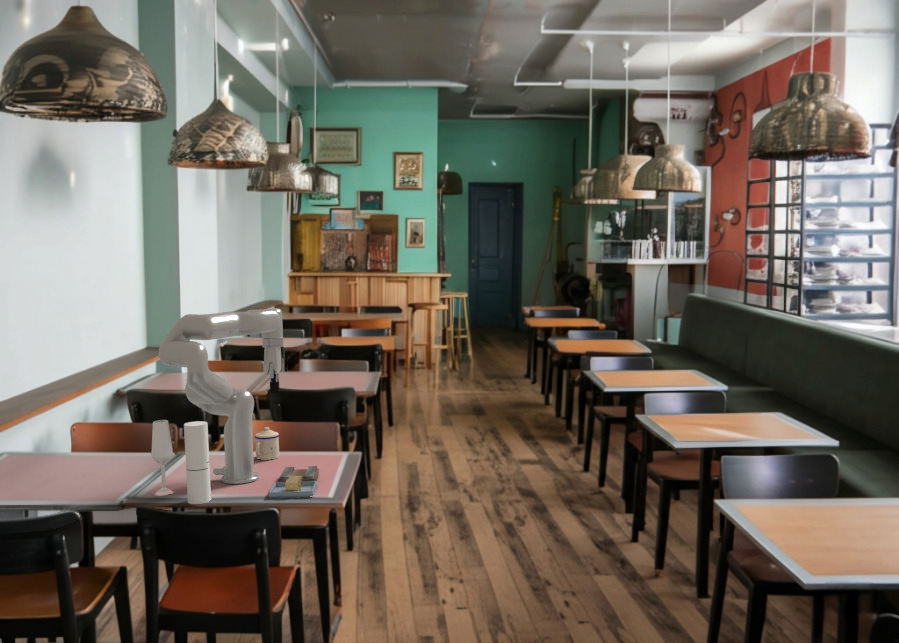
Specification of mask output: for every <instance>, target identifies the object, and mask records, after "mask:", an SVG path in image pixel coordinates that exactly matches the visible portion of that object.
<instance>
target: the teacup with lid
mask: <svg viewBox="0 0 899 643" xmlns="http://www.w3.org/2000/svg"><path fill="white" fill-rule="evenodd" d="M279 436H280V434H279V432H277V431H274V430H272V429H270V427H269V426H267V427H264V428H263V430H261V431H259V432H257V433H256V434H254V438H255V457H256V459H257V460H258V459H261V460H260V461H272V460H271V459H273V460H276V459H278V458H280V443H279V439H280V438H279Z"/></svg>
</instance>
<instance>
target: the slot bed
mask: <svg viewBox="0 0 899 643" xmlns="http://www.w3.org/2000/svg"><path fill="white" fill-rule="evenodd" d="M289 476H302V481H316V480H317V481H318V479H319V477H320V468H318V465H309V466H307V468H304V469H297V468H296V469H295V466H285V467H284V469H283V471H282V472H281V474H280V476H279V477H278V480H277V482H286V480H288V479H289ZM318 476H319V477H318ZM317 478H318V479H317Z"/></svg>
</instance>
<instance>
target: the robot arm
mask: <svg viewBox="0 0 899 643" xmlns="http://www.w3.org/2000/svg"><path fill="white" fill-rule="evenodd" d="M283 327H284V326H283V311H282V309H281V308H277V307H275V308H274V307H273V308H269V307H268V308H263V309H249V310H246V311H225V312H217V313H207V314H206V313H205V314H203V313H202V314H199V313H198V314H195V313H194V314H193V313H191V314H190V313H188V314H185V315H183V316H181V317H180V318H179V319H178V320H177V322H175V324H174V326H173V327H172V328H171V329H170V331H169V332H168V334H167V335H166V337H165V338H164V340H163V341H162V342H161V344H160V346H159V347H158V359H159V361H160V362H161V363H162V365H164V366H168V367H178V368H186V370H187V371H186V384H185V387H184V392H185V396H186V397H187V400H188V401H189V402H190V403H192V405H195V406H196V407H198V408H199V409H201V410H203V411H205V412H207V413H208V414H212V415H215V416H226V417H228V418H227V420H226V422H225V424H224V428H223V440H224V441H223V442H224V444H223V445H224V458H225V459H224V462H225V463H224V464H225V466H223V467H221V468H220V467H214V468H213V470H212V471H213V474H214V475H215V476H221V475H222V476H221V482H222V483H224V484H230V485H231V484H232V485H238V484H239V485H240V484H246V483H252V482H254V481H255V482H256V481H257V480H258V479H259V477H260V474H259V473H257V472H255V465H254V464H255V461H254V441H253V416H254V414H253V413H254V408H255V400H254V399H255V398H254V397H253V395H252V393H251V392H250V391H249V390H245V389H243V388H232V385H231V384H230V383H229V382H228V381H227V380H225V379H224V378H223V377H222V376H220V375H217V374H216V373H214V372H213V371H211V370H210V368H209V354H208V351H207V349H206V347H205V346H204V345H203V344H202V343H200V342H198V341H211V340H217V339H218V340H219V339H223V338H224V339H225V338H231V337H240V336H241V337H243V336H249V335H258V334H260V335H261V345H262V348H264V353H263V365H264V367H263V368H264V371H263V372H264V375H268V376H269V393H270V394H278V393H280V390H281V389H280V372H281V371H282V350H281V348H282V347H284V332H283V331H284V328H283ZM193 340H194V341H193Z"/></svg>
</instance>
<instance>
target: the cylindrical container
mask: <svg viewBox="0 0 899 643" xmlns="http://www.w3.org/2000/svg"><path fill="white" fill-rule="evenodd" d="M208 424H209V423H208V422H207V421H204V420H203V421H202V420H201V421H200V420H196V421H188V422H185V423H184V424H183V430H184V431H183V433H184V434H183V435H184V451H185V452H184V455H185V473H186V487H187V488H186V489H187V490H186V491H187V494H186V495H187V503H188V504H190V505H203V504H207V503H209V501H210V500H211V501H212V491H211V490H212V489H211V469H210V468H211V467H210V450H209V446H210V445H209V429H208V428H209V426H208ZM211 501H210V502H211Z"/></svg>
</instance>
